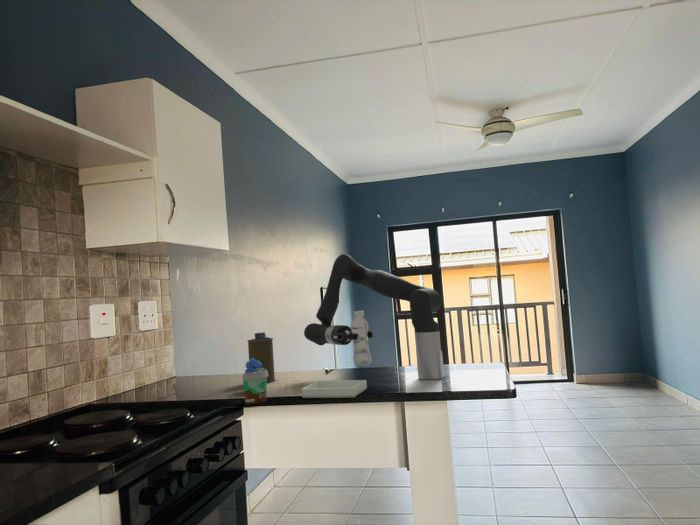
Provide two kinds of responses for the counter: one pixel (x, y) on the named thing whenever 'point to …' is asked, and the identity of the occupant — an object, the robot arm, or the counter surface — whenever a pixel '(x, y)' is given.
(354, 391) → the tray
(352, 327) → the plastic bottle
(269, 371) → the canister
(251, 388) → the food container
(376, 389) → the counter surface
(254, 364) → the grapes
